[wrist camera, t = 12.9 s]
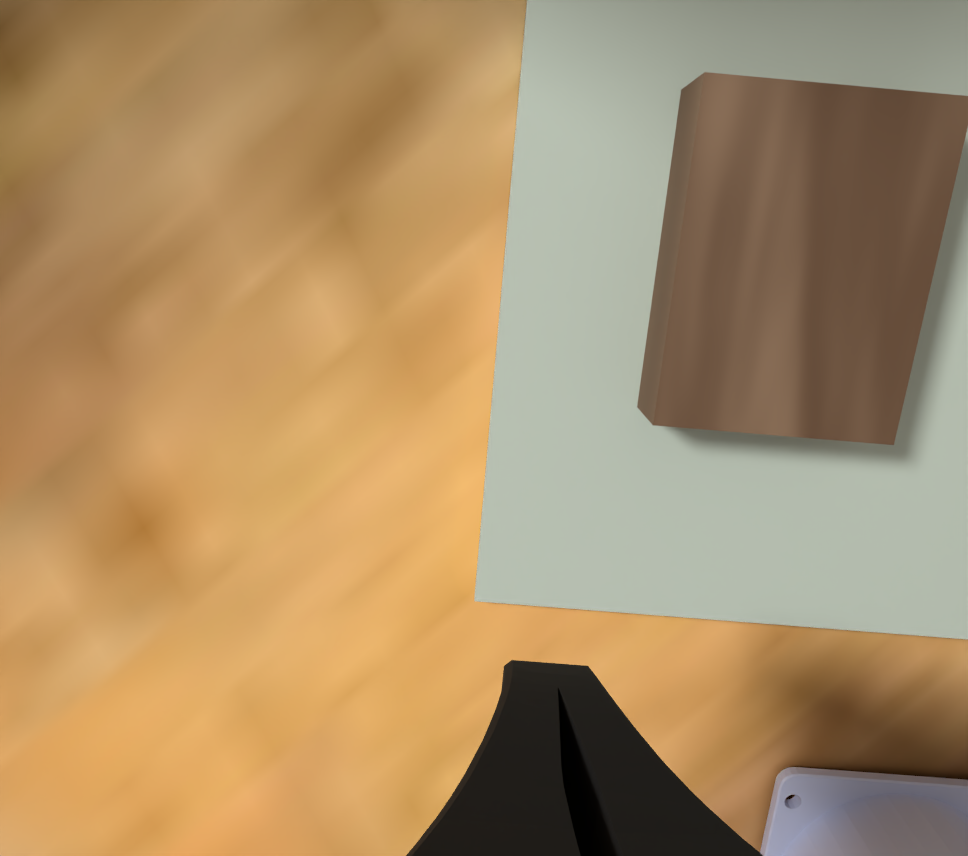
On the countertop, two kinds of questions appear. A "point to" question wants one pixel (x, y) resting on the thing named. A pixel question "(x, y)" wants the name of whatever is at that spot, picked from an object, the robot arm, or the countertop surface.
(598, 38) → the mat
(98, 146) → the countertop surface
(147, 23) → the countertop surface
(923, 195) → the walnut slab
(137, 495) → the countertop surface
